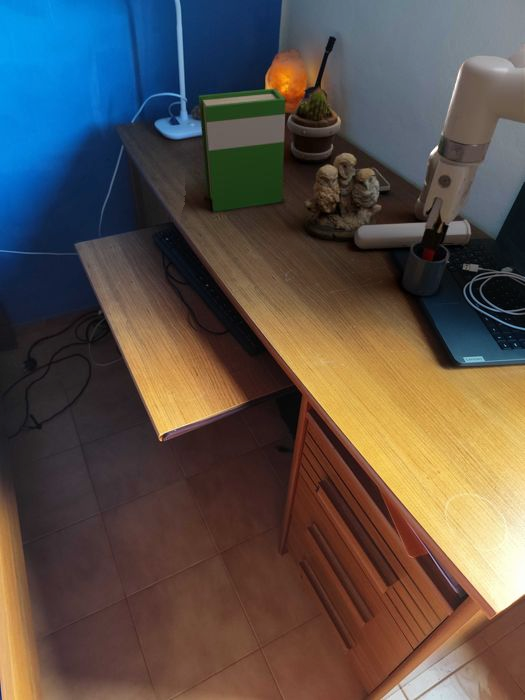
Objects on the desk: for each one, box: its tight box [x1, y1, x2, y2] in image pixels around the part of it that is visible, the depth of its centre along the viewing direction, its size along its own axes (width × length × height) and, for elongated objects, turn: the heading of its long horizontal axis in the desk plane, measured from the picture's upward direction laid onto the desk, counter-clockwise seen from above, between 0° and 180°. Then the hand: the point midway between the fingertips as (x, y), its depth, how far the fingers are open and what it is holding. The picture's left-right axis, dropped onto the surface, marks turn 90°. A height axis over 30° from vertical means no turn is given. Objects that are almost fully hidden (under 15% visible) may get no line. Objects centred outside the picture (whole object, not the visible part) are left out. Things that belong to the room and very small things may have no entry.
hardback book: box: [198, 88, 287, 212], centre depth 110 cm, size 18×7×24 cm, turn 106°
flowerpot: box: [286, 85, 342, 164], centre depth 129 cm, size 14×15×20 cm
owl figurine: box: [303, 152, 382, 242], centre depth 103 cm, size 18×12×17 cm, turn 101°
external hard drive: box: [355, 167, 391, 194], centre depth 123 cm, size 7×11×2 cm, turn 13°
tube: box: [353, 219, 472, 250], centre depth 103 cm, size 5×5×25 cm
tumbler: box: [401, 241, 450, 297], centre depth 92 cm, size 7×7×8 cm
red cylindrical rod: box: [421, 220, 441, 261], centre depth 89 cm, size 2×2×14 cm
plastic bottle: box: [413, 139, 440, 223], centre depth 105 cm, size 6×7×20 cm
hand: (431, 244), depth 88 cm, fingers closed on red cylindrical rod, 2 cm apart
